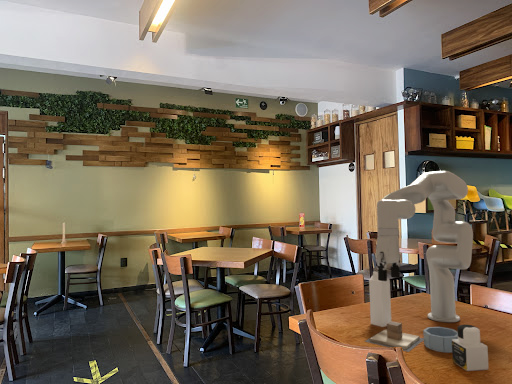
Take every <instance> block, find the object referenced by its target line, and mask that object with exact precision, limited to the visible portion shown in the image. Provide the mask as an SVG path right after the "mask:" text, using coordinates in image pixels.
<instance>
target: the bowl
mask: <svg viewBox="0 0 512 384" xmlns="http://www.w3.org/2000/svg"><path fill="white" fill-rule="evenodd" d="M422 333H423V335H422V336H423V338H424V340H423V345H424V346H425V347H426V348H427V349H430V350H432V351H435V352H441V353H452V339H458V330H455V329H453V328H449V327H442V326H429V327H426V328H424V329H423V331H422Z"/></svg>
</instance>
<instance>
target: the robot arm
mask: <svg viewBox="0 0 512 384" xmlns="http://www.w3.org/2000/svg"><path fill="white" fill-rule="evenodd" d="M468 193H469V188H468V184H467V183H466V182H465V180H464V179H463V178H461V177H459V176H458V175H456V174H455V173H453V172H451V171H449V170H436V171H428V172H423V173H422V174H420V175H419V176H418V177H417V178H416V179H415V180H413V181H412V182H411V183H409V185H407V186H404V187H402V188H399V189H397V190H394V191H392V192H390V193H387V195H385V196H384V197H383V198H382V199H380V200H378V201H377V203H376V218H377V219H376V222H377V225H376V226H377V229H376V230H377V238H376V245H375V247H376V248H375V259H374V260H375V263H376V264H375V265H376V268H377V272H378V280H380V281H387V278H388V270H387V266H388V265H391V266H390V276H391V278H395V279H396V278H397V279H399V278H400V277H401V274H400V272H401V271H400V270H401V269H400V268H401V262H402V261H401V257H402V254H401V253H400V244H399V243H400V242H399V236H400V235H399V234H400V231H399V220H408V219H411V218H412V217H414V215H415V214H416V205H418V204H420V203H423V202H424V201H426V200H427V198H428V199H429V202H430V203H431V205H432V209H433V222H432V233H431V234H432V235H431V236H432V238H433V240H434V241H436V242H437V243H443V244H434V245H431V246H429V247H428V248H427V249H426V254H425V255H426V256H425V257H426V262H427V266H428V271H429V272H428V273H429V289H430V290H429V291H430V293H429V294H430V309H431V310H430V312H429V313H427V318H428V319H430V320H432V321H435V322H441V323H456V322H459V321H460V320H461V317H460V315H458V314H456V313H457V312H456V297H455V296H456V294H455V292H456V291H455V279H454V274H452V272H451V270H450V269H453V270H454V269H455V270H467V269H468V268H470V266H471V263H472V255H473V254H472V253H473V245H474V244H473V242H474V233H473V227H472V225H471V224H470V223H469V222H467V221H464V220H463V221H461V220H459V221H458V220H456V210H455V209H456V208H454V206H453V205H452V203H451V202H449V200H450V201H452V200H462V199H465V197H467V195H468ZM444 243H445V244H446V243H447V244H457V245H444Z"/></svg>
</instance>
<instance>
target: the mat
mask: <svg viewBox="0 0 512 384" xmlns="http://www.w3.org/2000/svg"><path fill="white" fill-rule="evenodd" d="M380 332H381V331H380ZM380 332H378V333H380ZM378 333H376V334H374V335H373V336H375V335H377V334H378ZM373 336H371V337H370V338H372V337H373ZM370 338H368V339H366V340H364V342H365V343H368V344H373V345H377V346H381V347H382V346H383V347H386V348H390V347H393V346H389V345H384V344H380V343H376V342H372V341H370ZM423 342H424V337H419V340H418V341H416V342H415V343H414V344H412V345H411V346H410V347H409V348H407V349H403V351H404V352H407V353H409V352H411V351H412V350H413V349H414V348H416V347H417V346H418V345H419V344H421V343H423ZM403 351H402V352H403Z"/></svg>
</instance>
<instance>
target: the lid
mask: <svg viewBox="0 0 512 384" xmlns="http://www.w3.org/2000/svg"><path fill="white" fill-rule="evenodd" d="M376 334H377V335H376ZM376 334H374V335H375V336H374V335H373V336H371V337H372V338H371V337H370V341H372V342H376V343H380V344H384V345H389V346H393V347H402V349H407V348H409V347H410V346H411V345H412V344H414V343H415V342H416V341H418V340H419V338H420V336H419V335H414V334H410V333H405V332H403V323H402V322H397V321H393V320H391V322H389V323H387V326H386V329H385V328H384V329H382V330H381V331H380V333H379V332H378V333H376Z"/></svg>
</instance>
